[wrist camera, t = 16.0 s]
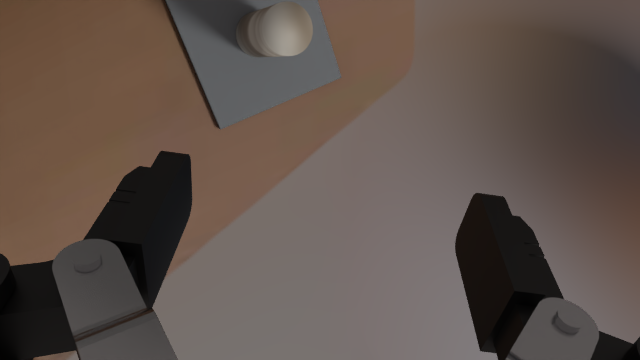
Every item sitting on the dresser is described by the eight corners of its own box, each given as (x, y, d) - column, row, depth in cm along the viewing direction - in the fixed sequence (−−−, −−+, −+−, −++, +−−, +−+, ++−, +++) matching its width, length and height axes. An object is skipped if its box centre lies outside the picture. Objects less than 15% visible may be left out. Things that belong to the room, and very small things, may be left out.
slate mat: (219, 128, 54) (220, 129, 53) (157, -18, 48) (158, -18, 47) (339, 77, 58) (341, 77, 58) (295, -61, 53) (297, -63, 52)
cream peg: (245, 63, 53) (274, 63, 44) (228, 20, 51) (256, 11, 42) (283, 48, 54) (319, 45, 45) (268, 6, 52) (303, -6, 44)
